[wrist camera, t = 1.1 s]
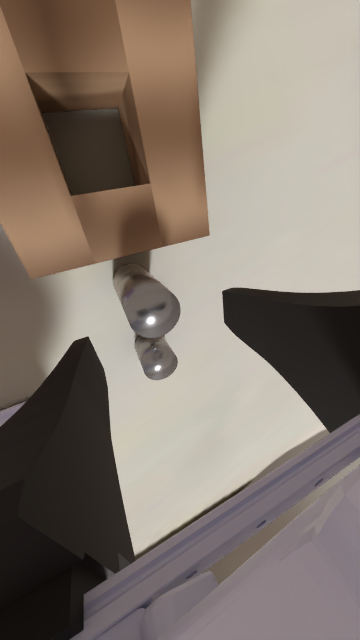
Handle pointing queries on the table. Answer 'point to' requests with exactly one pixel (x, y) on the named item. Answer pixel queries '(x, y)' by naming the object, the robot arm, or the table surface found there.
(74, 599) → the robot arm
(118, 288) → the tall pin
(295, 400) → the table surface
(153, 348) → the short pin
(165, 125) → the hole block
